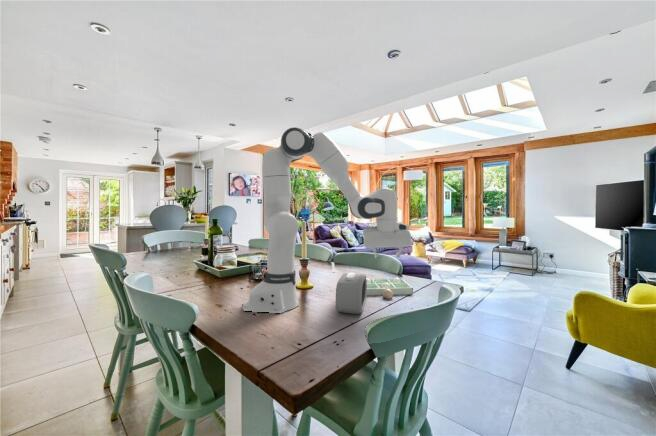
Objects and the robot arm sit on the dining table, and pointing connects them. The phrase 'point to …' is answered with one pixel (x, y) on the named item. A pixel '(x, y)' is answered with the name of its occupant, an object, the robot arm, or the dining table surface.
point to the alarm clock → (351, 293)
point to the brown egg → (388, 294)
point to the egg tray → (396, 288)
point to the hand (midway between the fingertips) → (387, 257)
